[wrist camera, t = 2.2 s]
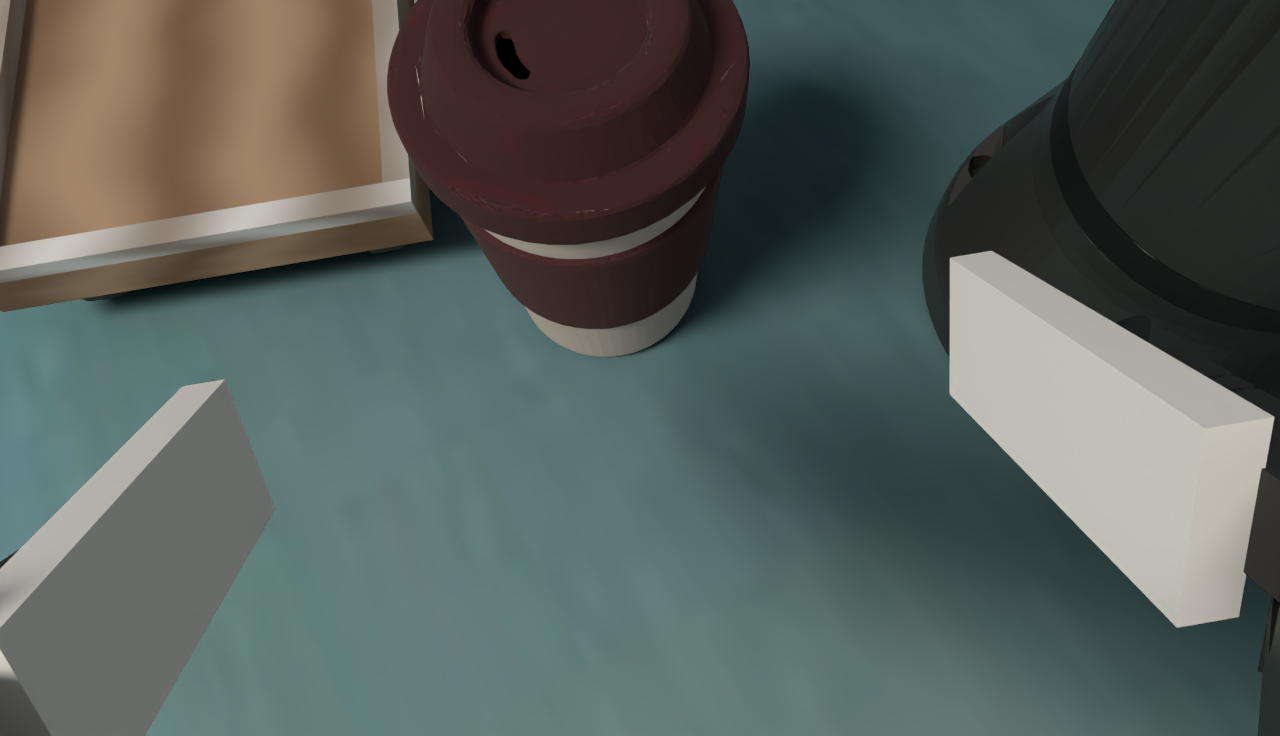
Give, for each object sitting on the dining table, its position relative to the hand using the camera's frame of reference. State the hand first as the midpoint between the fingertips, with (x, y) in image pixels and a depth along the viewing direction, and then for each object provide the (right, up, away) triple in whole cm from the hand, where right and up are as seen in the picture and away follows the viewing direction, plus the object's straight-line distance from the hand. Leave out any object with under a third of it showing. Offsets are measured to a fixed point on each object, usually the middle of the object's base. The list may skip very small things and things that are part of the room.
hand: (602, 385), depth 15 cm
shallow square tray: (-17, +11, +23) cm, 31 cm away
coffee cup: (-1, +4, +20) cm, 21 cm away
